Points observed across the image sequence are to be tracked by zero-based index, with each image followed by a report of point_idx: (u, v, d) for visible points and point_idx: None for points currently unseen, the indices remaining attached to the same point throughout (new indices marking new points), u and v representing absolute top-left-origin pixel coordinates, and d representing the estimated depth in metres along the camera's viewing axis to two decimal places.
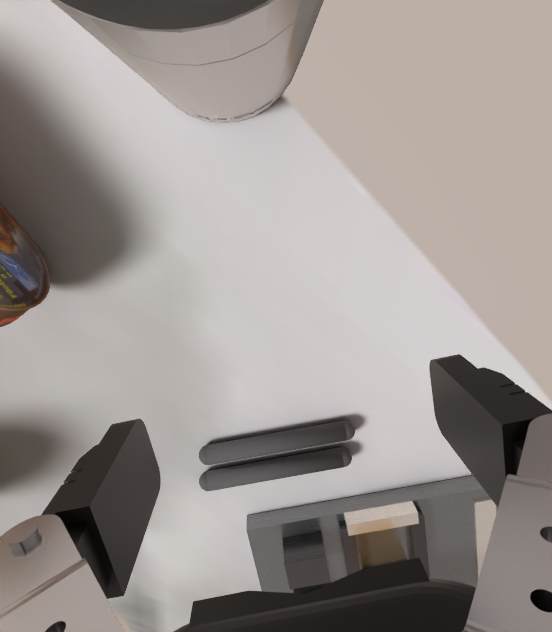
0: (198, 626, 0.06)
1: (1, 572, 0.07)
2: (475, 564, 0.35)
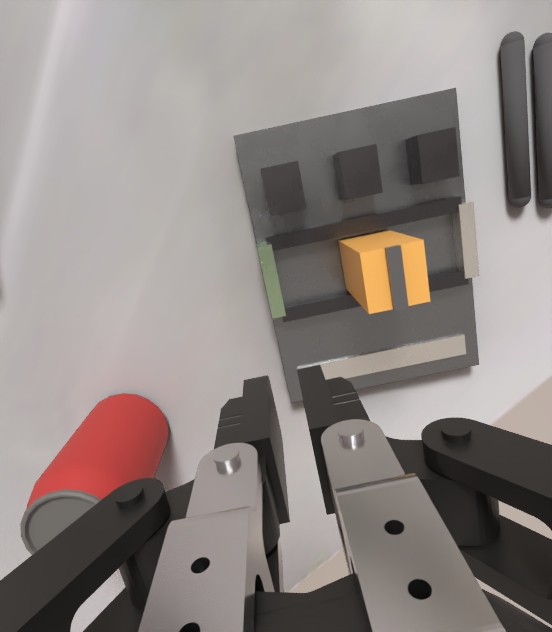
0: None
1: (202, 481, 0.08)
2: (381, 349, 0.34)
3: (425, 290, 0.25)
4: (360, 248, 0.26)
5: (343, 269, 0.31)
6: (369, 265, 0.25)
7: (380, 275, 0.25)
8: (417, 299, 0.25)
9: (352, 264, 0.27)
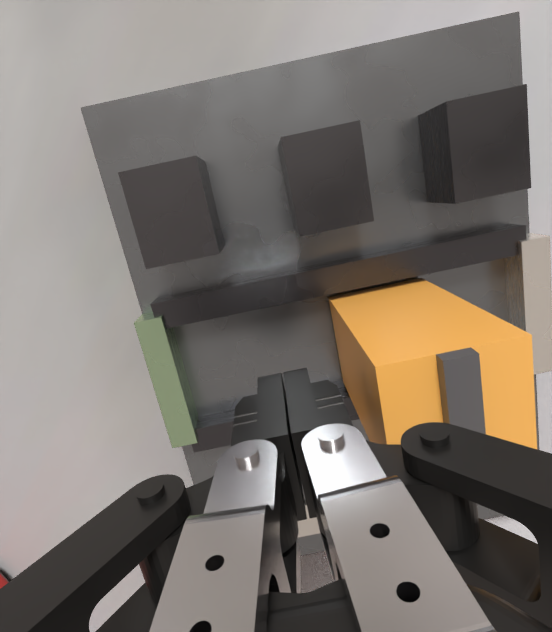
0: None
1: (221, 477, 0.08)
2: None
3: (528, 446, 0.11)
4: (374, 342, 0.11)
5: (338, 350, 0.17)
6: (398, 394, 0.10)
7: (424, 416, 0.10)
8: None
9: (356, 365, 0.13)
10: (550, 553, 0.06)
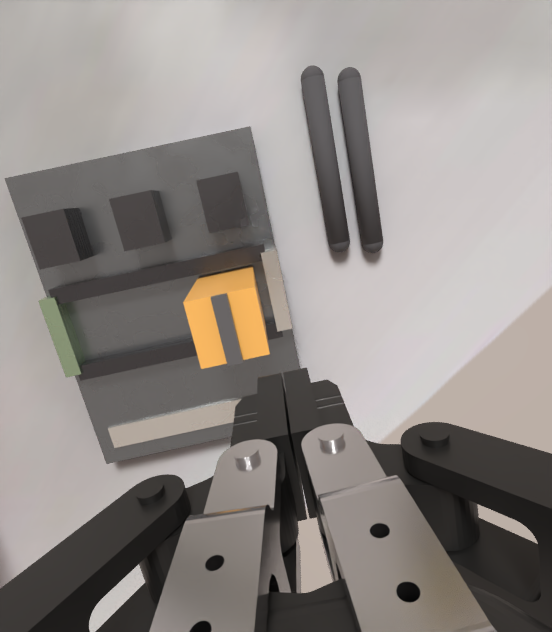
0: None
1: (221, 477, 0.08)
2: (201, 405, 0.31)
3: (263, 341, 0.22)
4: (194, 294, 0.23)
5: None
6: (195, 315, 0.22)
7: (209, 326, 0.22)
8: (254, 352, 0.22)
9: None
10: (550, 553, 0.06)
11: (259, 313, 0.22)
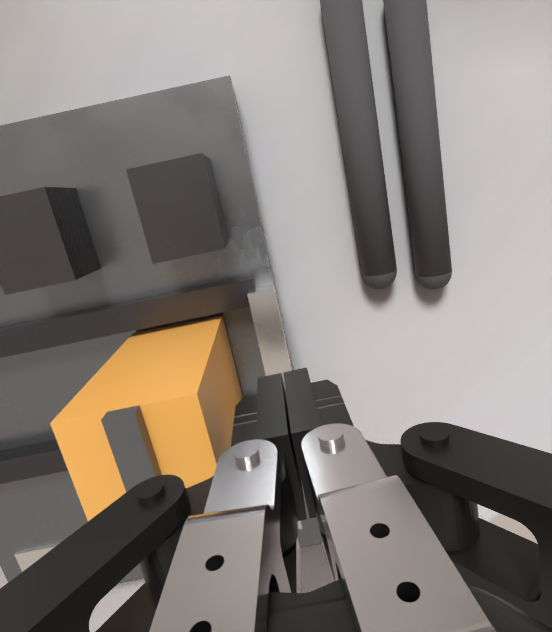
0: None
1: (221, 477, 0.08)
2: None
3: None
4: (89, 392, 0.12)
5: None
6: (78, 448, 0.11)
7: (108, 468, 0.11)
8: None
9: None
10: (550, 553, 0.06)
11: (208, 444, 0.11)
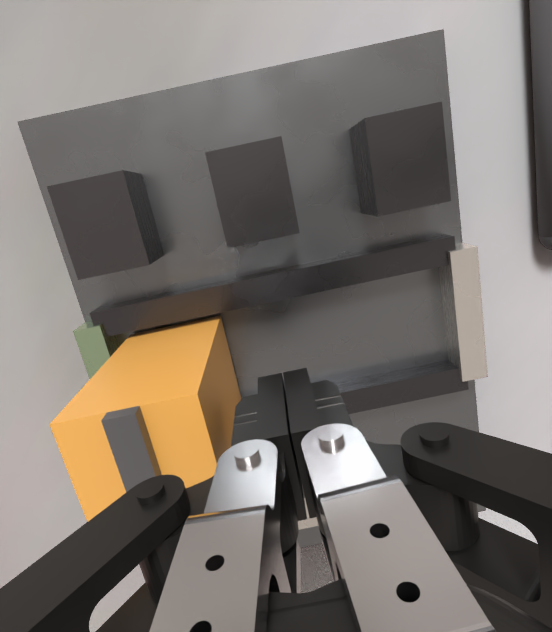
0: None
1: (222, 477, 0.08)
2: None
3: None
4: (88, 393, 0.12)
5: None
6: (78, 449, 0.11)
7: (108, 469, 0.11)
8: None
9: None
10: (550, 553, 0.06)
11: (208, 444, 0.11)
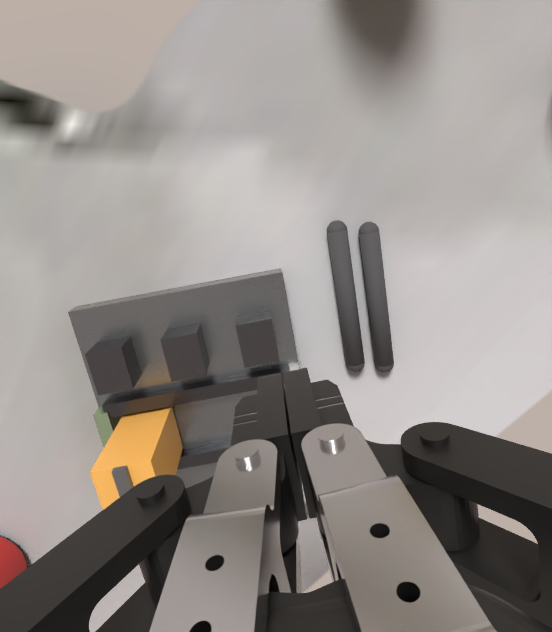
0: None
1: (221, 477, 0.08)
2: None
3: None
4: (104, 456, 0.27)
5: None
6: (101, 482, 0.26)
7: (113, 490, 0.26)
8: None
9: None
10: (550, 553, 0.06)
11: None
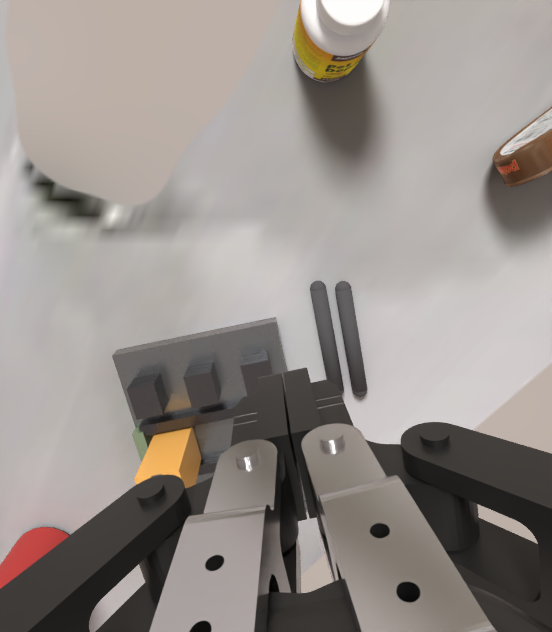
0: None
1: (221, 477, 0.08)
2: None
3: None
4: (144, 466, 0.36)
5: None
6: None
7: None
8: None
9: None
10: (550, 553, 0.06)
11: None
